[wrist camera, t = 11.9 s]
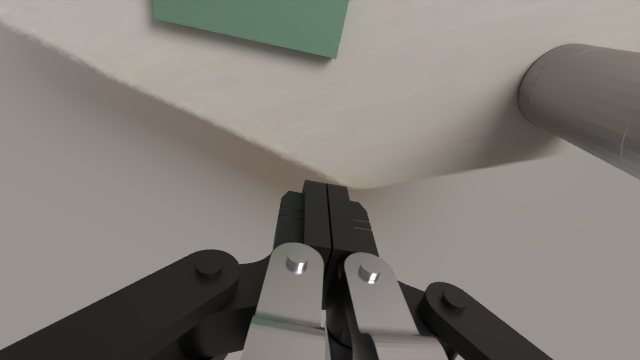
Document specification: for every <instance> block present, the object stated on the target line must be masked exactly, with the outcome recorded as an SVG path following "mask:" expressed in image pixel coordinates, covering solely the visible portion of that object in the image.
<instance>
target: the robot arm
mask: <svg viewBox="0 0 640 360" xmlns="http://www.w3.org/2000/svg"><path fill="white" fill-rule="evenodd" d="M519 106H520V110H521V112H522V114H523V115H524V117H525V118H527V119H528V120H529V121H530V122H532V123H534V124H536V125H538V126H540V127H541V128H543V129H545V130H547V131H549V132H551V133H552V134H554V135H556V136H558V137H560V138H562V139H564V140H566V141H567V142H569V143H571V144H573V145H575V146H577V147H579V148H581V149H583V150H584V151H586V152H588V153H590V154H592V155H594V156H596V157H598V158H600V159H602V160H604V161H605V162H607V163H609V164H611V165H613V166H615V167H617V168H619V169H620V170H622V171H624V172H626V173H628V174H630V175H632V176H634V177H636V178H638V179H640V53H638V52H631V51H624V50H617V49H611V48H605V47H598V46H591V45H584V44H568V45H563V46H560V47H557V48H555V49H553V50H551V51H549V52H548V53H546V54H545V55H543V56H542V57H541V58H540V59H538V60H537V61H536V62H535V63H534V64H533V66H532V67H531V68H530V69H529V70H528V72H527V74H526V75H525V77H524V79H523V81H522V84H521V86H520V91H519ZM321 309H322V310H326V321H325V325H324V327H323V328H322V327H321ZM240 350H243V353H242V356H241V360H455V358H456V357H457V355H458V354H459V355H460V356H461V357H462V358H463V359H465V360H553V359H552V358H550V357H549V356H548V355H546V354H545V353H544V352H542V351H541V350H540V349H538V348H537V347H536V346H535V345H533V344H532V343H531V342H529V341H528V340H527V339H526V338H524V337H523V336H522V335H520V334H519V333H518V332H517V331H515V330H514V329H513V328H511V327H510V326H509V325H507V324H506V323H505V322H504V321H502V320H501V319H499V318H498V317H497V316H496V315H494V314H493V313H492V312H490V311H489V310H488V309H487V308H485V307H484V306H483V305H481V304H480V303H479V302H478V301H476V300H475V299H474V298H472V297H471V296H470V295H468V294H467V293H466V292H464V291H463V290H462V289H460V288H458V287H456V286H454V285H451V284H449V283H444V282H434V283H431V284H430V285H429V286H428V287H427V289H426V291H425V292H424V291H421V290H418V289H416V288H414V287H411V286H409V285H406V284H403V283H402V282H400V281H398V280H397V279H396V277H395V274H394V272H393V270H392V268H391V267H390V265H389V264H387V262H385V261H384V260H383V259H381V258H379V255H378V251H377V248H376V244H375V241H374V237H373V233H372V231H371V226H370V223H369V218H368V215H367V212H366V210H365V209H364V208H363V207H362V206H361V204H360V203H359V202H353V201H350V200H349V195H348V190H347V187H345V186H340V185H333V184H328V183H326V184H325V183H322V182H315V181H310V180H305V182H304V186H303V191H302V193H299V192H292V191H288V192H287V193H286V194H285V195H284V196H283V197H282V199H281V204H280V210H279V215H278V221H277V226H276V232H275V238H274V245H273V251H272V252H271V254H270V255H269V256H267V257H266V258H264V259H263V260H260V261H257V262H254V263H248V264H238V261H237V260H236V259H235V258H234V257H233V256H232V255H230V254H228V253H226V252H224V251H220V250H212V249H211V250H201V251H198V252H195V253H192V254H190V255H188V256H186V257H184V258H182V259H180V260H178V261H176V262H174V263H172V264H170V265H168V266H166V267H164V268H162V269H160V270H158V271H156V272H155V273H153V274H150V275H148V276H146V277H144V278H142V279H140V280H138V281H136V282H135V283H133V284H131V285H129V286H127V287H125V288H123V289H121V290H119V291H117V292H115V293H113V294H111V295H109V296H107V297H105V298H103V299H101V300H99V301H97V302H95V303H93V304H91V305H89V306H87V307H85V308H83V309H81V310H79V311H77V312H75V313H73V314H71V315H69V316H67V317H65V318H63V319H61V320H59V321H57V322H55V323H53V324H51V325H49V326H47V327H45V328H43V329H41V330H39V331H37V332H36V333H34V334H32V335H29V336H28V337H25V338H24V339H22V340H20V341H18V342H16V343H14V344H12V345H10V346H8V347H6V348H4V349H2V350H0V360H224V359H225V357H226V356H227V355H228V353H231V352H236V351H240Z"/></svg>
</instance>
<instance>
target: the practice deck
mask: <svg viewBox="0 0 640 360" xmlns="http://www.w3.org/2000/svg"><path fill="white" fill-rule="evenodd" d="M348 2H349V0H153V19H158V20H162V21H167V22H171V23H176V24H180V25H185V26H189V27H194V28H198V29H203V30H207V31H212V32H217V33H221V34H226V35H230V36H235V37H239V38H244V39H248V40H253V41H257V42H262V43H266V44H271V45H276V46H280V47H285V48H289V49H294V50H298V51H303V52H307V53H312V54H316V55H321V56H325V57H330V58H335V59H336V56H337V52H338V47H339V43H340V38H341V34H342V29H343V25H344V20H345V16H346V11H347V7H348Z"/></svg>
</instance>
